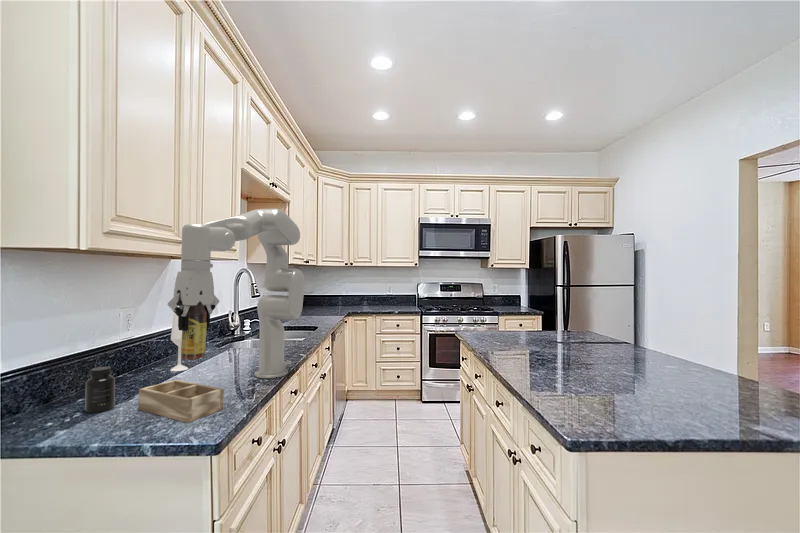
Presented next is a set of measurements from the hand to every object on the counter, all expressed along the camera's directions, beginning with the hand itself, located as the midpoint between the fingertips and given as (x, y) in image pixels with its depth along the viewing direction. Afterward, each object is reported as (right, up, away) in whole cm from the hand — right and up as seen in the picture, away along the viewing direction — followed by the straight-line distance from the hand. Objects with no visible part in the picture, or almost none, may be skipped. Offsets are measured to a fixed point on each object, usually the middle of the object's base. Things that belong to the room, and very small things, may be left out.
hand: (194, 328), depth 110 cm
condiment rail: (-5, -24, +2) cm, 25 cm away
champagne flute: (-32, -25, +48) cm, 63 cm away
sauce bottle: (0, -9, 0) cm, 9 cm away
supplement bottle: (-28, -24, +1) cm, 37 cm away
